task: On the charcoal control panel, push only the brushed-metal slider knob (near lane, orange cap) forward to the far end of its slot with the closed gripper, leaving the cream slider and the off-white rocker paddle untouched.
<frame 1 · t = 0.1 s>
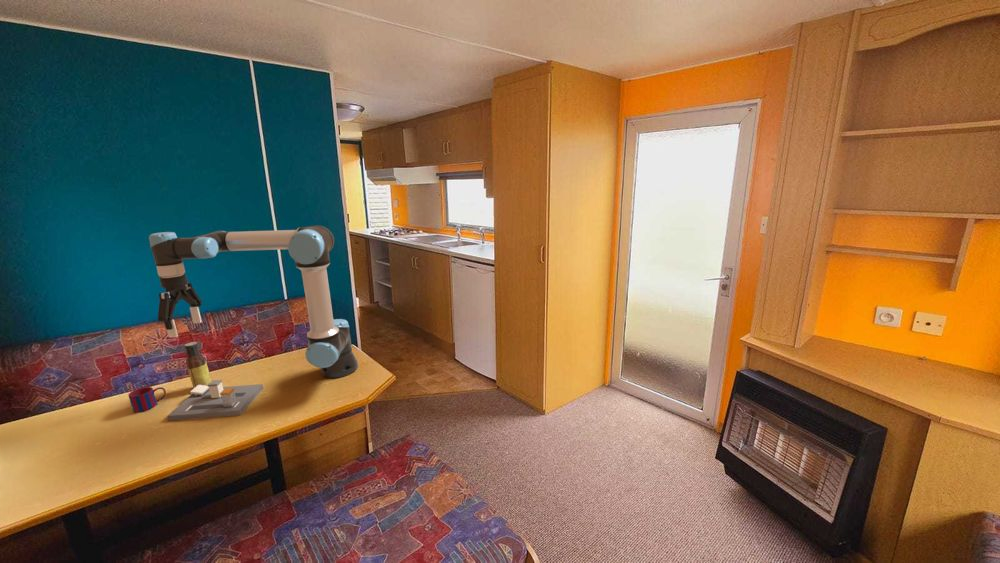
hand: (186, 329, 145), 28 cm above the table, fingers open, 13 cm apart
sauce bottle: (203, 388, 158), on the table
mug: (151, 406, 146), on the table
panel: (219, 403, 147), on the table
slider cream: (216, 388, 147), point 5 cm above the table, slide at 0.0 cm
rocker: (200, 390, 150), point 3 cm above the table, hinge at -15.0°
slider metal: (228, 397, 141), point 5 cm above the table, slide at 0.0 cm
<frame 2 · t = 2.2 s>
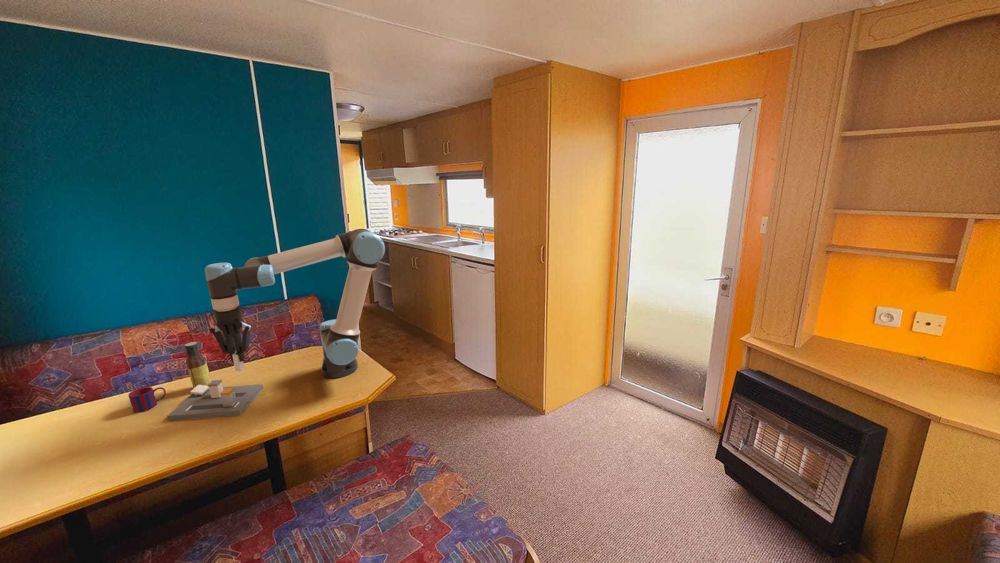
hand: (240, 369, 139), 16 cm above the table, fingers closed
nothing on the table moved.
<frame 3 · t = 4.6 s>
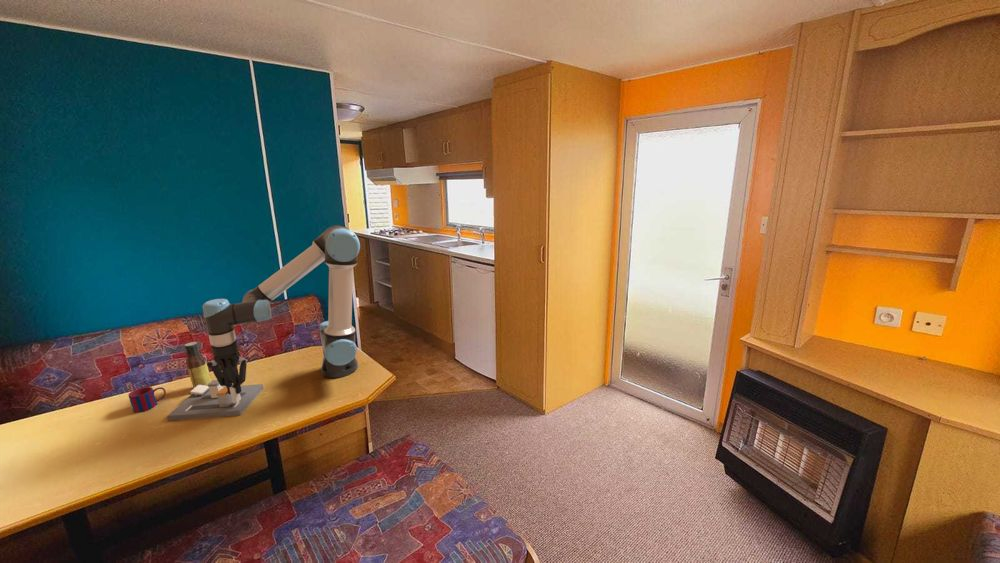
hand: (236, 401, 142), 4 cm above the table, fingers closed
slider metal: (225, 397, 141), point 5 cm above the table, slide at 1.3 cm, touching gripper
everything else where it was.
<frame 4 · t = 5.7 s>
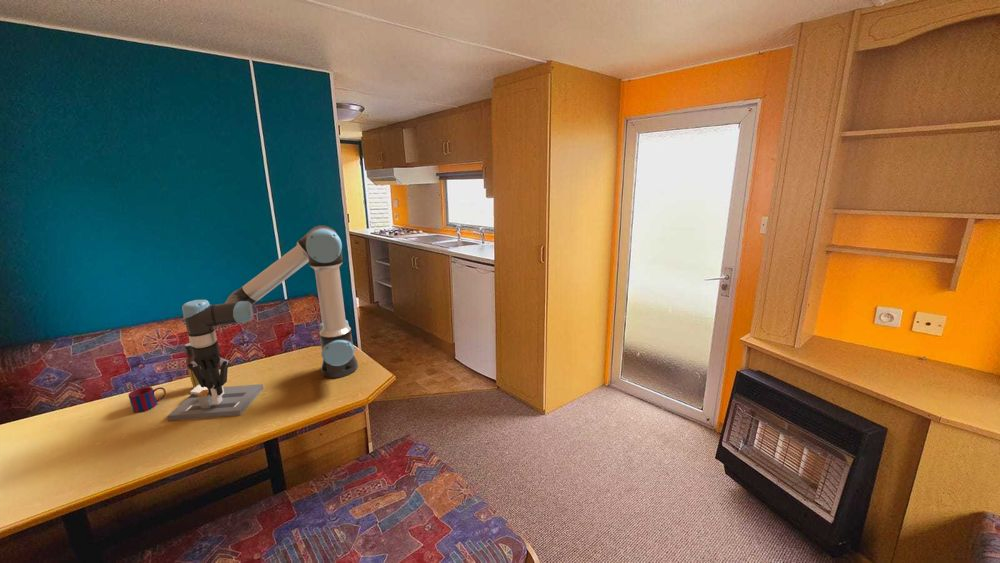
hand: (218, 402, 141), 4 cm above the table, fingers closed
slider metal: (206, 399, 140), point 5 cm above the table, slide at 7.6 cm, touching gripper
everything else where it was.
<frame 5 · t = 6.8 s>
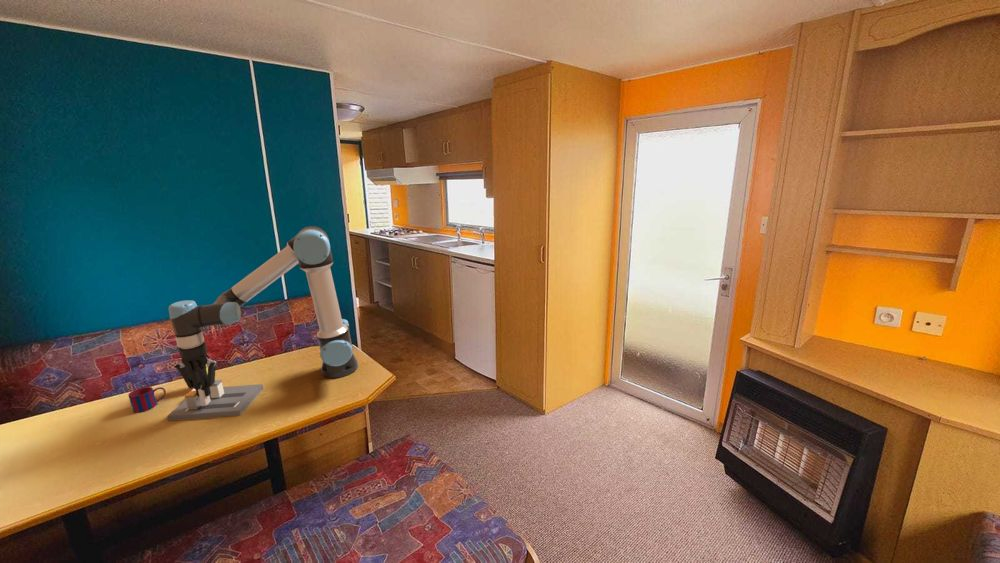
hand: (206, 403, 141), 4 cm above the table, fingers closed
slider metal: (194, 400, 140), point 5 cm above the table, slide at 11.8 cm, touching gripper
everything else where it was.
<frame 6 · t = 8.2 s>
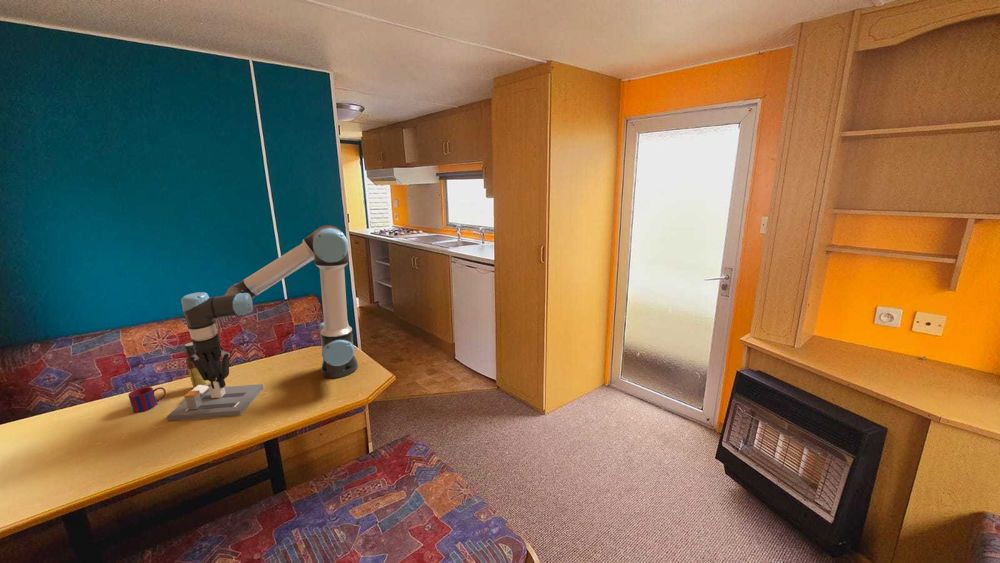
hand: (221, 395, 141), 6 cm above the table, fingers closed
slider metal: (193, 400, 140), point 5 cm above the table, slide at 11.9 cm
everything else where it was.
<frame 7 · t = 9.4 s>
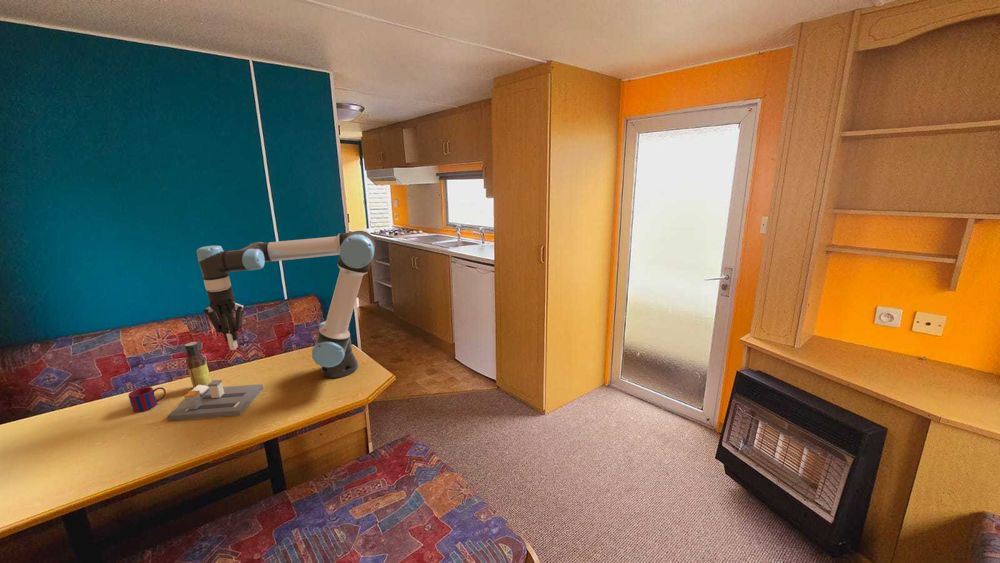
hand: (234, 348, 145), 21 cm above the table, fingers closed
nothing on the table moved.
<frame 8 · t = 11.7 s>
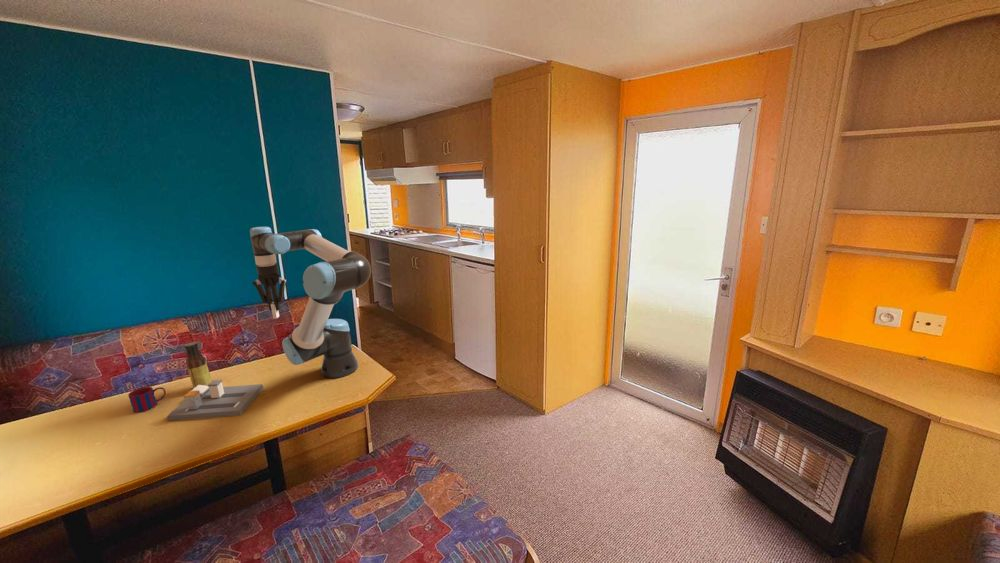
hand: (276, 317, 166), 24 cm above the table, fingers closed
nothing on the table moved.
at the end: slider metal slide at 11.9 cm; slider cream slide at 0.0 cm; rocker at -15° (first picture: -15°) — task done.
